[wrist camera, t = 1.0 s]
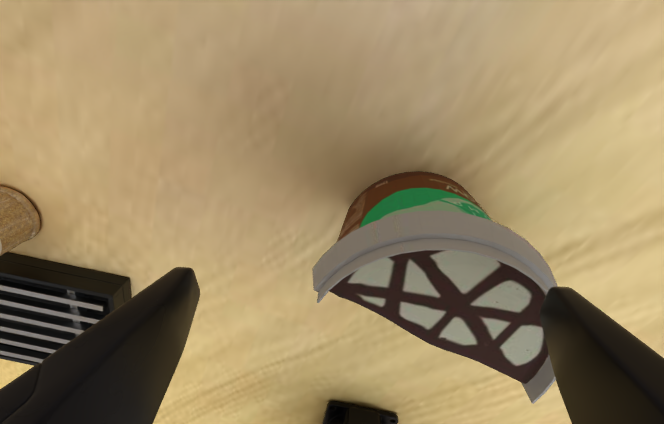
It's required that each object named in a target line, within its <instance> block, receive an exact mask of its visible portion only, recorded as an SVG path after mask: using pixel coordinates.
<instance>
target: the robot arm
mask: <svg viewBox="0 0 664 424" xmlns="http://www.w3.org/2000/svg"><path fill="white" fill-rule="evenodd" d="M199 297H200V289H199V286H198V283H197V279H196V276H195V273H194V271H193V269H192V268H186V267H176V268H174V269H173V270H171V271H170V272H168V273H167V274H165V275H164V276H163V277H161V278H160V279H158V280H157V281H155V282H154V283H153V284H151V285H150V286H148V287H147V288H145V289H144V290H143V291H141V292H140V293H138V294H137V295H135V296H134V297H133V298H131V299H130V300H128V301H127V302H125V303H124V304H123V305H121V306H120V307H118V308H117V309H115V310H114V311H113V312H111V313H110V314H108V315H107V316H105V317H104V318H103V319H101V320H100V321H98V322H97V323H95V324H94V325H93V326H91V327H90V328H88V329H87V330H85V331H84V332H83V333H81V334H80V335H78V336H77V337H75V338H74V339H73V340H71V341H70V342H68V343H67V344H65V345H64V346H63V347H61V348H60V349H58V350H57V351H55V352H54V353H52V354H51V355H50V356H48V357H47V358H45V359H44V360H43V361H42V363H38V364H37V365H35V366H34V367H32V368H31V369H29V370H28V371H27V372H25V373H24V374H22V375H21V376H19V377H18V378H16V379H15V380H13V381H12V382H11V383H9V384H8V385H6V386H5V387H3V388H2V389H0V424H152V423H153V421H154V419H155V416H156V414H157V412H158V409H159V407H160V405H161V402H162V400H163V398H164V395H165V393H166V391H167V388H168V386H169V384H170V381H171V379H172V376H173V374H174V372H175V369H176V367H177V365H178V362H179V360H180V358H181V355H182V352H183V350H184V347H185V344H186V341H187V337H188V334H189V331H190V327H191V324H192V321H193V317H194V314H195V311H196V307H197V304H198V301H199ZM540 320H541V324H542V328H543V332H544V336H545V340H546V344H547V348H548V352H549V356H550V360H551V364H552V368H553V372H554V375H555V378H556V381H557V384H558V387H559V390H560V393H561V395H562V398H563V401H564V403H565V406H566V409H567V411H568V414H569V417H570V419H571V422H572V424H664V358H663V357H661V356H660V355H659V354H657V353H656V352H655V351H654V350H652V349H651V348H650V347H648V346H647V345H646V344H644V343H643V342H642V341H640V340H639V339H638V338H636V337H635V336H634V335H632V334H631V333H630V332H629V331H627V330H626V329H625V328H623V327H622V326H621V325H619V324H618V323H617V322H615V321H614V320H613V319H611V318H610V317H609V316H607V315H606V314H605V313H604V312H602V311H601V310H600V309H598V308H597V307H596V306H594V305H593V304H592V303H590V302H589V301H588V300H586V299H585V298H584V297H582V296H581V295H580V294H579V293H577V292H576V291H575V290H573V289H572V288H569V287H555V286H554V287H551V288H550V289H549V291H548V293H547V295H546V297H545V299H544V301H543V304H542V306H541V308H540ZM397 423H398V416H397V415H396V414H394V413H389V412H384V411H380V410H375V409H370V408H365V407H360V406H356V405H351V404H346V403H341V402H336V401H330V402H328V404H327V408H326V411H325V415H324V418H323V422H322V424H397Z"/></svg>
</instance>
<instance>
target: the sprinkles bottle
mask: <svg viewBox="0 0 664 424" xmlns="http://www.w3.org/2000/svg"><path fill="white" fill-rule="evenodd" d="M39 228H40V219H39V216H38V213H37V211H36V210H35V208H34V207H33V205H32V204H31V203H30V201H29V200H28V199H27V198H25V197H24V196H23V195H22V194H20V193H19V192H17V191H15V190H12V189H10V188H7V187H3V186H0V256H1V255H3V254H4V253H6V252H7V251H9V250H11V249H12V248H14V247H15V246H17V245H19V244H20V243H22V242H24V241H27V240H29V239H31V238H33V237H34V236H35V235H36V234H37V233H38V231H39Z"/></svg>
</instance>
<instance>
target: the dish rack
mask: <svg viewBox="0 0 664 424" xmlns="http://www.w3.org/2000/svg"><path fill="white" fill-rule="evenodd" d="M130 299H131V289H130V279H129V278H127V277H122V276H118V275H113V274H108V273H103V272H98V271H94V270H89V269H84V268H79V267H74V266H70V265H65V264H60V263H55V262H50V261H46V260H41V259H36V258H31V257H26V256H22V255H17V254H12V253H7V252H6V253H4V254H3V255H1V256H0V359H5V360H10V361H15V362H20V363H24V364H29V365H34V366H35V365H37V364H38V363H42V361H43V360H44V359H45V358H47V357H48V356H50V355H51V354H52V353H54V352H55V351H57V350H58V349H60V348H61V347H63V346H64V345H65V344H67V343H68V342H70V341H71V340H73V339H74V338H75V337H77V336H78V335H80V334H81V333H83V332H84V331H85V330H87V329H88V328H90V327H91V326H93V325H94V324H95V323H97V322H98V321H100V320H101V319H103V318H104V317H105V316H107V315H108V314H110V313H111V312H113V311H114V310H115V309H117V308H118V307H120V306H121V305H123V304H124V303H125V302H127V301H128V300H130Z"/></svg>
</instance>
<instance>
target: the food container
mask: <svg viewBox="0 0 664 424" xmlns="http://www.w3.org/2000/svg"><path fill="white" fill-rule="evenodd" d="M313 286H314V290H315V291H317V292H318V299H317V302H318V303H319V302H320V301H321V300H322V299H323V297H324V296H325V295H326V294H327V293H328V291H330V292H332V293H334V294H336V295H337V296H339V297H341V298H345V299H348V300H350V301H353V302H355V303H357V304H359V305H361V306H363V307H365V308H368V309H370V310H372V311H374V312H376V313H378V314H379V315H381V316H383V317H385V318H387V319H388V320H390V321H392V322H393V323H395V324H397V325H398V326H400V327H401V328H403V329H405V330H406V331H408V332H410V333H411V334H413V335H415V336H417V337H418V338H420V339H422V340H424V341H425V342H427V343H429V344H431V345H434V346H436V347H439V348H441V349H444V350H447V351H450V352H453V353H456V354H459V355H462V356H465V357H468V358H470V359H473V360H476V361H478V362H480V363H482V364H484V365H487V366H489V367H491V368H493V369H495V370H497V371H499V372H501V373H503V374H505V375H508V376H510V377H512V378H514V379H516V380H518V381H520V382H521V383H522V385H523V387H524V389H525V391H526V393H527V395H528V397H529V398H530V400H531V402H532V403H535V402H536V401H537V400H538V399H539V398H540V397H541V396H542V395H543V394H545V392H546V391H547V390H548V389H549V387H550V386H551V385H552V384H553V382H554V381H555V379H556V378H555V375H554V372H553V368H552V364H551V360H550V356H549V352H548V348H547V344H546V340H545V336H544V332H543V328H542V324H541V320H540V308H541V306H542V304H543V301H544V299H545V297H546V295H547V293H548V291H549V289H550V288H551V287H554V286H555V287H558V286H557V283H556V281H555V279H554V276H553V274H552V271H551V269H550V267H549V266H548V264H547V263H546V261H545V260H544V259H543V257H542V256H541V254H540V253H539V252H538V251H537V250H536V249H535V248H534V247H533V246H532V245H531V244H530V243H529V242H528V241H527V240H525V239H524V238H522V237H521V236H519V235H518V234H516V233H515V232H513V231H512V230H510V229H509V228H507V227H504V226H502V225H500V224H498V223H495V222H493V221H492V220H491V219H490V218H489V216H488V215H487V214H486V213H485V212H484V210H483V209H482V208H481V207H480V206H479V205H478V203H477V202H476V201H475V200H474V199H473V197H472V196H471V195H470V194H469V193H468V192H467V191H466V190H465V189H464V188H463V187H462V186H461V185H459V184H458V183H456V182H455V181H453V180H451V179H449V178H447V177H444V176H442V175H438V174H434V173H429V172H405V173H400V174H395V175H392V176H389V177H386V178H384V179H382V180H380V181H378V182H376V183H374V184H373V185H371V186H370V187H368V188H367V189H366V190H364V191H363V192H362V193H361V194H360V195H359V196H358V197H357V198H356V199H355V201H354V202H353V203H352V205H351V206H350V208H349V210H348V212H347V215H346V218H345V221H344V224H343V226H342V229H341V232H340V235H339V237H338V240H337V242H336V243H335V244H334V245H333V246H332V247H331V248H330V249H329V250H328V251H327V252H326V253H325V254H324V255H323V256H322V257H321V258H320V259H319V261H318V262H317V263H316V265H315V266H314V267H313Z"/></svg>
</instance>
